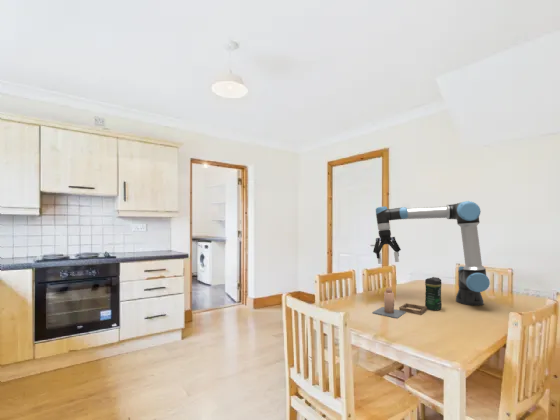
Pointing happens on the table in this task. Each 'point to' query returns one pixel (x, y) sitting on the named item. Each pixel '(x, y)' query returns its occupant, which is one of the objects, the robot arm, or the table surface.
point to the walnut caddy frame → (404, 308)
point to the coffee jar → (433, 293)
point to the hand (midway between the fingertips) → (388, 262)
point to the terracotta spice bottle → (389, 301)
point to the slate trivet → (394, 315)
